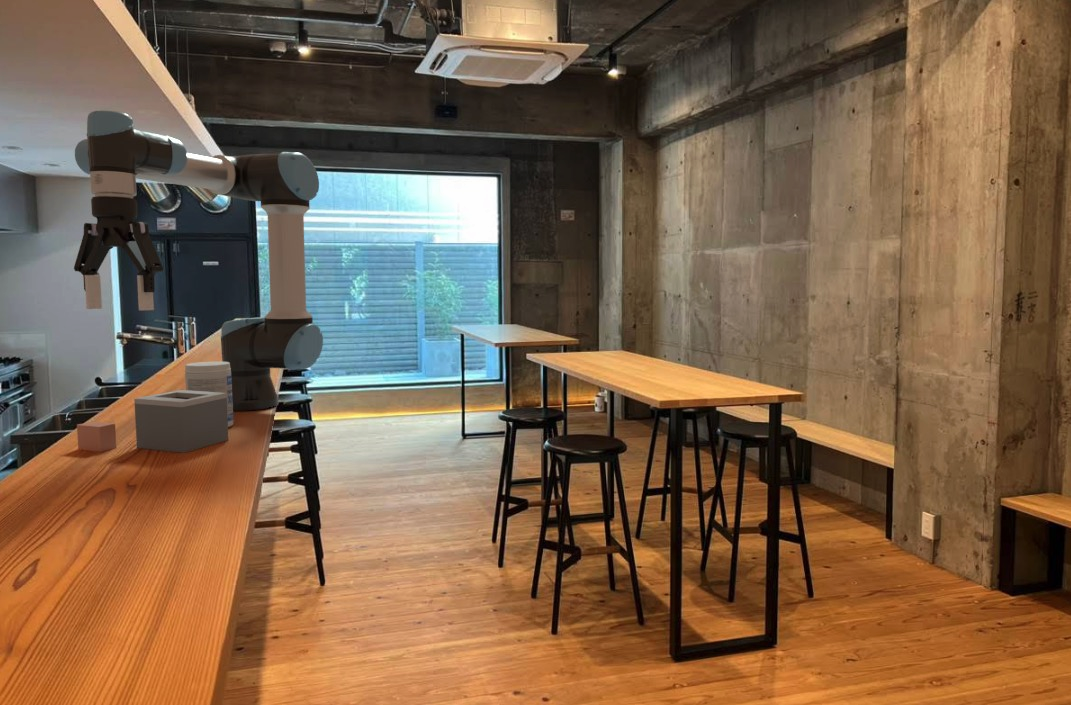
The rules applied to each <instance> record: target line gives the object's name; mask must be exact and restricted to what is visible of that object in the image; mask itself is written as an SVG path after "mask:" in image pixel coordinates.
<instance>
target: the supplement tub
mask: <svg viewBox="0 0 1071 705" xmlns="http://www.w3.org/2000/svg"><path fill="white" fill-rule="evenodd" d="M184 369H185V370H184V372H185V374H184V377H185V378H184V379H185V382H184V383H185V390H191V391H205V392H220V393H227V415H228V428H231V427H232V426H233V425H234V411H233V400H232V380H231V368H230V363H229V362H222V361H201V362H190V363H186V364H185V368H184Z"/></svg>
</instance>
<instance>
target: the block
mask: <svg viewBox="0 0 1071 705" xmlns="http://www.w3.org/2000/svg"><path fill="white" fill-rule="evenodd" d="M116 432H117V431H116V423H114V422H113V423H110V422H100V421H90V422H89V421H88V422H85V423H79V424H76V433H77V434H76V435H77V450H81V449H83V451H90V452H106V451H110V450H114V449H117V434H116Z"/></svg>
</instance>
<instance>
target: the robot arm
mask: <svg viewBox="0 0 1071 705" xmlns="http://www.w3.org/2000/svg"><path fill="white" fill-rule="evenodd" d="M86 120H87V122H86V138H85V139H82V140H80V141H79V142H77V144H76V146H75V149H74V159H75V162H76V164H77V166H78V168H79V169H80V170H81V171H82V172H83V173H85V174H87V175H89V179H90V180H89V181H90V182H89V183H90V193H91V194H92V195H94V196H92V198H91V199H90V204H91V207H90V208H91V216H92V217H94V218H96V220H97V221H96V223H92V222H90V223H89V222H85V223H84V224H83V235H82V239H81V243H80V246H79V248H78V253H77V256H76V259H75V263H74V265H73V266H74V267H73V270H74V271H75V272H79V273H80V274H81V275H82V276H83V289H84V292H85V305H86V310H96V309H97V310H98V309H103V304H102V303H103V301H102V300H103V299H102V287H101V286H102V285H101V284H102V283H101V274H100V273H99V270H100V267H101V266H102V265H103V263H104V261H105V259H106V257H107V256H108V253H109V251H110V250H111V249H114V248H117V247H119V248H120V247H121V248H122V249H124V251H125V252H126V254H127V256H128V257H129V259H130V260H131V261H132V263H133V264H134V265H135V267H136V269H137V270H138V273H137V275H136V281H137V283H136V284H137V300H138V301H137V303H138V311H154V310H155V307H154V306H155V305H154V293H155V290H156V288H155V275H156V274H158V273H160V272H161V273H162V272H163V270H164V266H163V265H162V262H161V260H160V257H159V255H158V252H157V250H156V248H155V245H154V242H153V240H152V238H151V236H150V232H149V224H148V223H147V222H145V221H134V219H137V218H138V202H137V200H136V199H135V198H134V197H136V196H137V193H138V192H137V181H136V180H137V179H139V180H143V181H144V180H145V181H152V182H158V183H165V184H171V185H172V184H173V185H179V186H186V187H191V188H199V189H205V190H209V191H210V192H211V193H213V194H215V195H217V196H218V195H219V196H225V197H230V198H234V199H238V200H239V199H240V200H245V201H250V202H251V201H252V202H260V208H261V209H262V210H263V211H264V212H265V213H266V214H267V233H268V236H267V237H268V238H267V240H268V266H269V267H268V271H269V272H268V273H269V296H270V297H269V299H270V300H269V302H270V310H269V311H268V312H267V314H266V315H264V316H263V317H253V318H252V317H251V318H243V319H234V320H228V321H225V322H224V323H222V326H221V332H220V333H221V335H220V346H221V362H229V363H230V368H231V380H232V400H233V412H236V411H237V412H238V411H242V412H243V411H246V412H247V411H256V410H264V409H270V408H269V407H271V408H274V407H277V406H278V405H279V396H278V394H277V392H276V389H275V386H274V383H273V379H272V377H271V369H283V370H285V369H286V370H287V369H288V370H290V371H295V370H307V369H309V368H310V367H312V366H313V365H315V364H316V362H317V361H318V359H319V358H320V356H321V353H322V352H323V351H322V350H323V345H324V338H323V336H324V335H323V332H322V331H321V328H320V327H319V326H317V325H316V324H314V322H313V318H314V317H313V315H312V314H311V313H310V312H308V310H307V296H306V295H307V294H306V293H307V290H306V289H307V288H306V262H305V261H306V258H305V255H306V253H305V222H304V221H305V220H304V218H305V217H304V215H305V214H306V213H307V212H308V211H309V210H310V201H312V200H313V199H315V198H316V197H317V194H318V192H319V188H320V180H319V174H318V172H317V169H316V167H315V165H314V164H313V163H312V161H311V160H310V158H309V157H307V155H305V154H303V153H301V152H296V151H294V152H293V151H281V152H270V153H259V154H257V153H256V154H255V153H254V154H253V153H252V154H246V155H244V154H243V155H233V156H230V155H222V154H216V155H213V156H206V155H201V154H200V155H199V154H196V153H195V154H194V153H189V152H187V149H186V147H185V145H184V143H183V142H182V141H180V140H179V139H178V138H174V137H171V136H169V135H167V134H164V135H163V134H158V133H154V132H149V131H145V130H139V129H137V128H135V125H134V121H133V120H134V119H133V118H132V116H131V115H130V114H127V113H125V112H120V111H114V110H94V111H90V113H89V114H88V115H87V119H86ZM273 406H274V407H273Z"/></svg>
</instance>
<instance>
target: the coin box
mask: <svg viewBox="0 0 1071 705" xmlns="http://www.w3.org/2000/svg"><path fill="white" fill-rule="evenodd" d="M133 399H134V400H133V401H134V414H135V415H134V416H135V418H134V419H135V436H136V437H135V438H136V439H135V440H136V448H137V449H145V450H153V451H154V450H155V451H164V452H174V453H182V454H185V453H188V452H193V451H195V450H199V449H201V448H206V447H208V446H213V445H216V444H219V443H223V442H226V441H229V427H228V415H227V393H220V392H205V391H191V390H186V389H178V390H173V391H168V392H163V393H158V394H157V393H156V394H152V395H146V396H141V397H135V398H133Z"/></svg>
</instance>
